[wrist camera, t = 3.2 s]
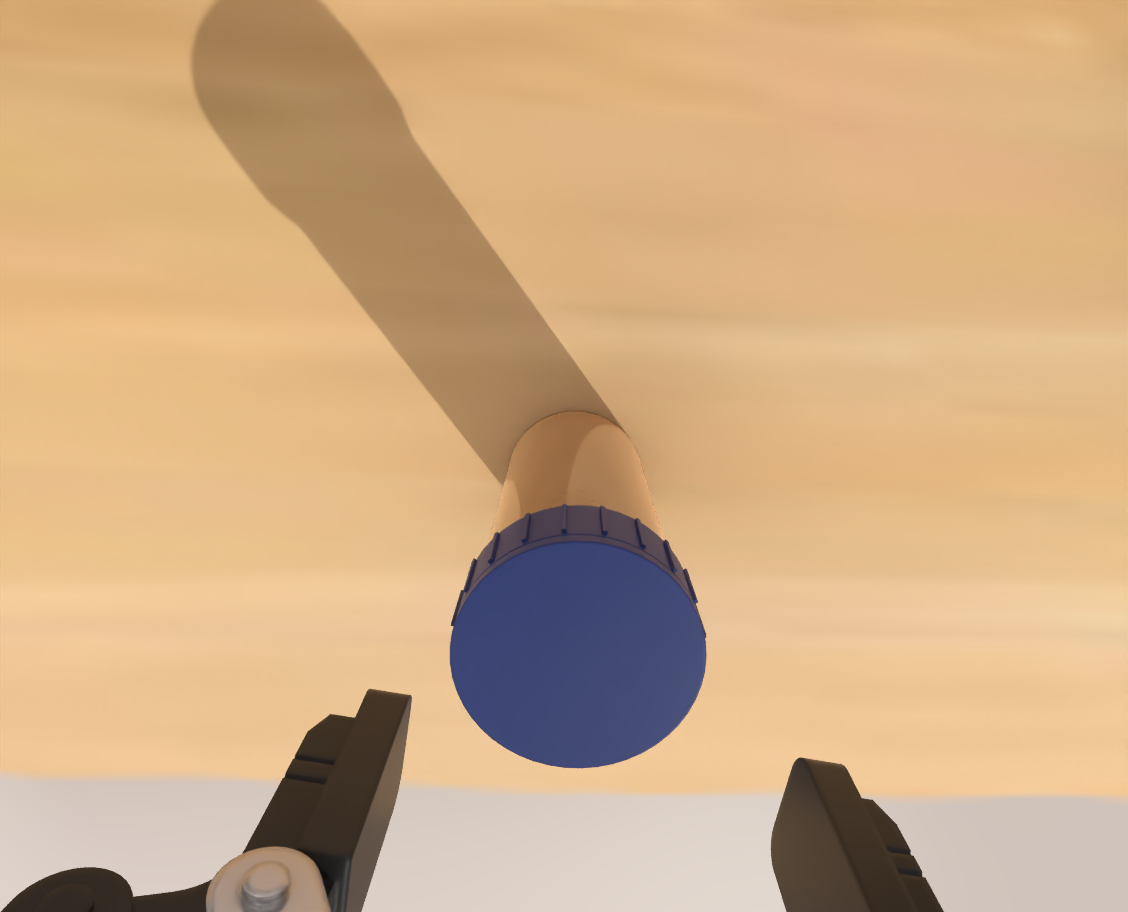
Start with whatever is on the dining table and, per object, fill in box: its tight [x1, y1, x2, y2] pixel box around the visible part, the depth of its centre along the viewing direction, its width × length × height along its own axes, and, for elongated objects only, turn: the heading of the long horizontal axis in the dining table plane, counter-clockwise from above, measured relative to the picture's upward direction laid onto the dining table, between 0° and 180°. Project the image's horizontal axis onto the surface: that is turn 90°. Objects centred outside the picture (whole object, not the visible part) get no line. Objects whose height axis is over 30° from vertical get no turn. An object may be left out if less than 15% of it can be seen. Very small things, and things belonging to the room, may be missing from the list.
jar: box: [488, 411, 664, 544], centre depth 24 cm, size 5×5×13 cm
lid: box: [450, 504, 706, 768], centre depth 18 cm, size 6×6×2 cm
